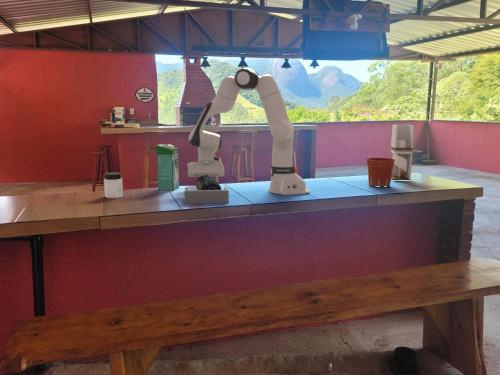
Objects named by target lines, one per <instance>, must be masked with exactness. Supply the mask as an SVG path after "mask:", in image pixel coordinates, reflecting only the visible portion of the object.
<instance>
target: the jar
mask: <svg viewBox="0 0 500 375" xmlns="http://www.w3.org/2000/svg"><path fill="white" fill-rule="evenodd" d="M123 185H124V184H123V178H122V173H121V172H118V171H117V172H116V171H115V172H114V171H113V172H105V173H104V178H103V187H104V197H105V198H107V199H119V198H122V197H124V188H123Z"/></svg>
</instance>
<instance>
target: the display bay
mask: <svg viewBox="0 0 500 375" xmlns="http://www.w3.org/2000/svg"><path fill="white" fill-rule="evenodd" d="M183 193H184V204H228V203H230V202H229V198H230V197H229V194H230V192H229V187H228V186H224V189H221V190H192V189H191V190H189V187H188V186H187V187H186V186H185V187H184V192H183Z"/></svg>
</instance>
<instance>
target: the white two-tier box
mask: <svg viewBox="0 0 500 375" xmlns="http://www.w3.org/2000/svg"><path fill="white" fill-rule="evenodd" d="M391 126H392V130H391V142H390V152H391V153H392V156H391V159H395V161H394V166H393V169H392V176H391V179H392V180H410V181H411V178H412V177H411V176H412V165H413V164H412V163H413V151H414V140H415V138H414V137H415V125H414V124H413V125H412V124H392V125H391Z"/></svg>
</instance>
